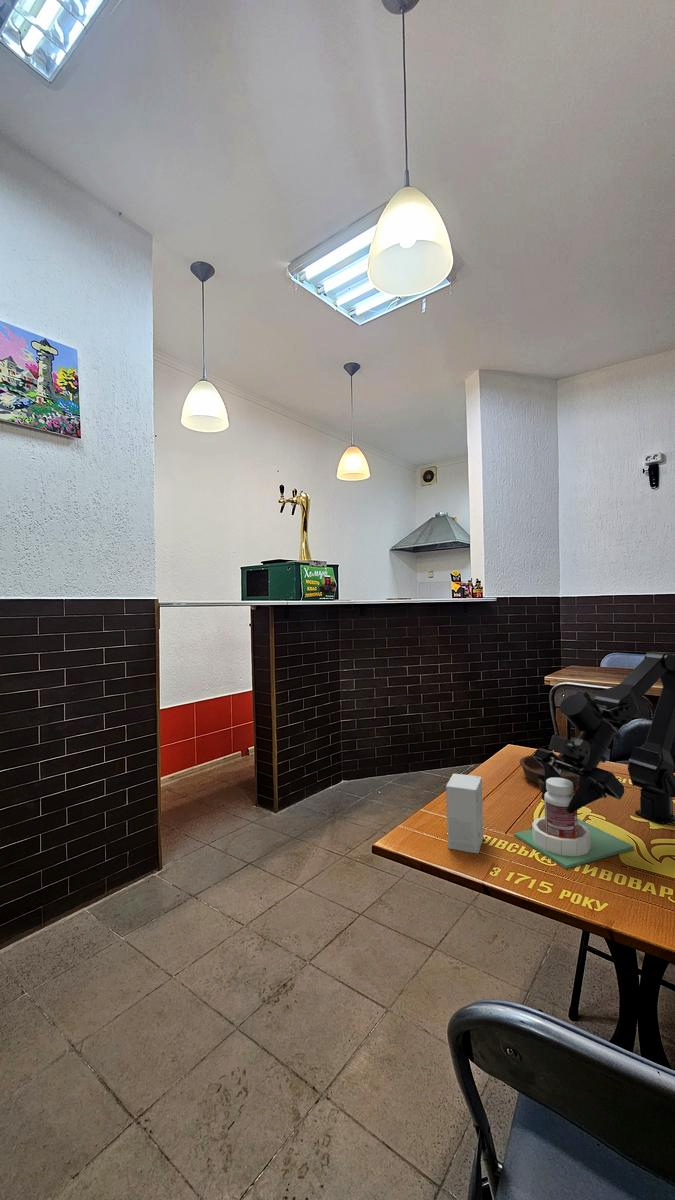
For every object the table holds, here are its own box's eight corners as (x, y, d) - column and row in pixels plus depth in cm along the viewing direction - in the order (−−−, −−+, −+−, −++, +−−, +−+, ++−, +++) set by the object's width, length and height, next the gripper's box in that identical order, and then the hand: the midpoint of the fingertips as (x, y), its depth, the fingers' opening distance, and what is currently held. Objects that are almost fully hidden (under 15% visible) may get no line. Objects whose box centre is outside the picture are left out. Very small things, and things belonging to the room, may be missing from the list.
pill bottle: (583, 844, 97) (581, 787, 96) (551, 843, 97) (549, 787, 97) (571, 829, 103) (569, 776, 103) (541, 829, 103) (539, 776, 103)
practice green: (577, 820, 111) (576, 804, 111) (633, 849, 98) (633, 831, 98) (514, 836, 104) (513, 819, 104) (566, 868, 91) (565, 849, 91)
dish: (511, 788, 131) (510, 770, 131) (528, 764, 149) (528, 748, 149) (582, 801, 121) (582, 781, 121) (592, 774, 140) (591, 757, 140)
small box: (454, 831, 107) (452, 772, 107) (484, 836, 104) (482, 776, 104) (446, 848, 100) (445, 785, 100) (478, 854, 97) (476, 789, 97)
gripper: (537, 712, 110) (500, 769, 106) (612, 731, 93) (572, 800, 89) (563, 741, 113) (529, 797, 109) (641, 765, 96) (604, 833, 92)
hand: (555, 805), depth 99 cm, fingers closed on pill bottle, 6 cm apart
